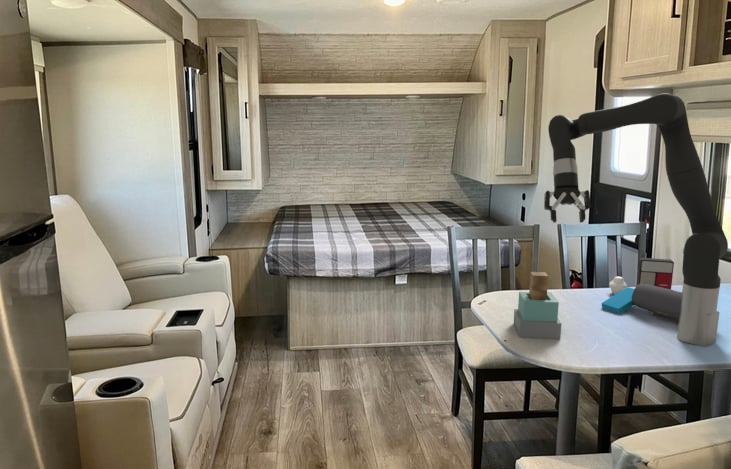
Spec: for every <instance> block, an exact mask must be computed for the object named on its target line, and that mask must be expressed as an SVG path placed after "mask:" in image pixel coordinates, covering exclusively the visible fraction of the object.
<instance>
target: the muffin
mask: <svg viewBox="0 0 731 469" xmlns="http://www.w3.org/2000/svg"><path fill="white" fill-rule="evenodd" d="M627 287H628V285H627V283H626V282H625V280H624V278H623V277H622V276H614V277H613V280H611V281H610V282H609V288H610V291H611V293H612V294H613V295H615V294H617V293H619V292H620V291H622V290H623V289H625V288H627Z"/></svg>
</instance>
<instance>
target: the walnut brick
mask: <svg viewBox="0 0 731 469" xmlns="http://www.w3.org/2000/svg"><path fill="white" fill-rule="evenodd" d="M548 285H549V275H548V274H547V272H545V271H543V272H542V271H530V276H529V288H528V289H529V290H528V292H529V299H530V300H547V292H548Z"/></svg>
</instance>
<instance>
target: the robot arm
mask: <svg viewBox="0 0 731 469" xmlns="http://www.w3.org/2000/svg"><path fill="white" fill-rule="evenodd" d="M633 125H657V127H658V129H659V131H660V135H661V137H662V139H663V140H662V141H663V143H664V149H665V152H664V153H665V159H664V160H665V161H664V162H665V172H666V176H667V180H668V182H669V187H670V188H671V189H670V190H671V191H672V194H673V196H674V197H675V200H676V201H677V202H678V204H679V205H680V207H681V208H682V209H683V211H684V213H685V214H686V217H687V219H688V222H689V225H690V228H691V233H692V234H691V235H690V236H689V237H688V238H687V240H686V241H685V244H684V248H683V253H682V254H683V256H682V268H681V269H682V271H681V273H682V277H683V282H682V298H681V306H680V315H679V323H677V330H676V331H677V334H676V337H677V339H679V341H681V342H684V343H687V344H691V345H699V346H703V347H709V346H710V345H713V344H714V343H716V341H717V335H718V326H719V319H720V311H718V310H717V309H718V302H719V294H720V289H721V282H722V281H721V277H720V275H719V268H720V267H719V266H720V260H721V259H722V258H723V257H724V256H725V255H726V254H727V251H728V248H729V244H728V243H729V242H728V238H727V236H726V233H725V231H724V230H723V228H722V225H721V223H720V220H719V219H718V217H717V214H716V212H715V208H714V204H713V199H712V195H711V192H710V189H709V188H710V187H709V185H708V181H707V178H706V174H705V171H704V168H703V165H702V162H701V159H700V157H699V153H698V151H697V148H696V145H695V143H694V141H693V138H692V135H691V131H690V126H689V121H688V115H687V109H686V105H685V102H684V100H683V99H682V98H680V97H679V96H678V95H676V94H672V93H664V92H663V93H659V94H656V95H654V96H651V97H648V98H646V99H643V100H640V101H636V102H633V103H629V104H625V105H622V106H618V107H617V106H616V107H611V108H605V109H600V110H593V111H588V112H583V113H582V114H580V115H579V116H578V118H576V119H570V118H568V117H567V116H565V115H562V114H557V115H554V116H553V117H552V118H551V119H550V120H549V123H548V130H547V131H548V136H549V140H550V145H551V147H552V152H553V154H552V155H553V156H552V157H553V159H552V160H553V167H552V168H553V169H552V170H553V171H552V174H553V187H554V190H553V191H551V190H546V191H545V193H544V196H543V197H544V198H543V199H544V200H543V201H544V202H543V204H544V206H543V208H544V210H545V211H549V212H550V213H549V214H550V220H551V221H552V223H556V222H557V210H556V209H557V207H558V206H559V205H562V206H564V205H565V206H566V205H568V206H569V205H573V206H574V207H576V208H577V209H578V214H579V215H578V216H579V223H584V221H585V220H586V211H587V210H589V209H590V208H591V207H592V202H591V194H590V191H589V189H587V190H585V191H580V189H579V188H580V187H579V175H578V174H579V173H578V172H579V171H578V165H577V164H578V163H577V156H576V155H577V154H576V148H575V147H576V146H575V145H574V144H573V143H572V141H573V140H576V139H579V138H582V137H584V136H586V135H592V134H598V133H603V132H608V131H613V130H617V129H619V128H623V127H627V126H633ZM580 196H581V198H582V199H583V201H584V202H583V203H584V204H583V203H582V201H581V200H580V198H579V197H580ZM552 197H554V199H556V200H555V202H554V203H553V205H550V203H551V201H550V200H551V199H552Z"/></svg>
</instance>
